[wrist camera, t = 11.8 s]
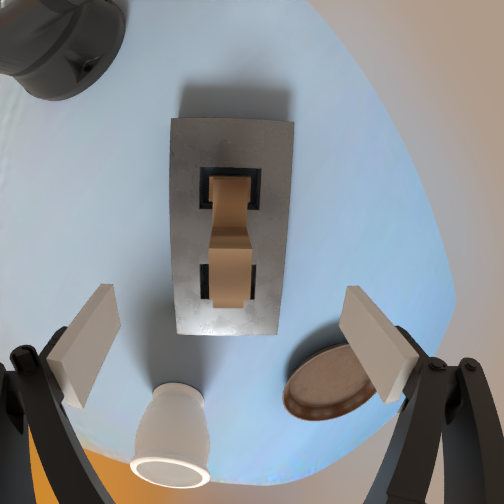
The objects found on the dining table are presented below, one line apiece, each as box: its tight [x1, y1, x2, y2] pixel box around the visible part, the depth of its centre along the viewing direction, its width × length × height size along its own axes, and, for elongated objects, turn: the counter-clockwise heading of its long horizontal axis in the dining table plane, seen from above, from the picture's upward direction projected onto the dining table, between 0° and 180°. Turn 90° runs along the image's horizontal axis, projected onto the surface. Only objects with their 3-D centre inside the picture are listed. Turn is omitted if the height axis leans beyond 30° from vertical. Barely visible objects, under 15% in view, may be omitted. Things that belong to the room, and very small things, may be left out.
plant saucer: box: [283, 343, 377, 421], centre depth 41 cm, size 18×18×3 cm
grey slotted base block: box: [169, 118, 294, 335], centre depth 31 cm, size 24×12×4 cm, turn 177°
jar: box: [130, 383, 210, 488], centre depth 34 cm, size 11×10×15 cm
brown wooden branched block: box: [209, 174, 252, 308], centre depth 26 cm, size 12×4×13 cm, turn 178°
